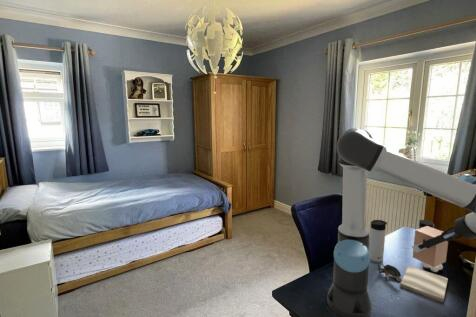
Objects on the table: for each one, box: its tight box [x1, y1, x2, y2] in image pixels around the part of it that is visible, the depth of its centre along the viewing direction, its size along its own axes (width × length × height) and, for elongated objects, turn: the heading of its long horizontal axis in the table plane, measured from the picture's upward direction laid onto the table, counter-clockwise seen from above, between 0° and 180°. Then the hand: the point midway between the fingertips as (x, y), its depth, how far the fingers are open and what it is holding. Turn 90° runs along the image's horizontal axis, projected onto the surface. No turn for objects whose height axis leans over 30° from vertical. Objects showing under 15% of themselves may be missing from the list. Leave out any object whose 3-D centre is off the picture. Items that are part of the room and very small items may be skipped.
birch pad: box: [399, 265, 449, 303], centre depth 108 cm, size 16×14×2 cm
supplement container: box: [417, 219, 435, 229], centre depth 142 cm, size 7×7×10 cm
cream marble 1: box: [422, 262, 430, 269], centre depth 119 cm, size 3×3×3 cm
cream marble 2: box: [429, 266, 440, 273], centre depth 116 cm, size 3×3×3 cm
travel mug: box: [369, 219, 388, 264], centre depth 124 cm, size 6×7×20 cm
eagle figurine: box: [376, 262, 403, 283], centre depth 112 cm, size 8×7×9 cm
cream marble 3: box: [437, 263, 444, 271], centre depth 117 cm, size 3×3×3 cm
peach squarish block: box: [412, 226, 449, 267], centre depth 105 cm, size 8×8×12 cm
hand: (420, 246), depth 108 cm, fingers closed on peach squarish block, 8 cm apart
